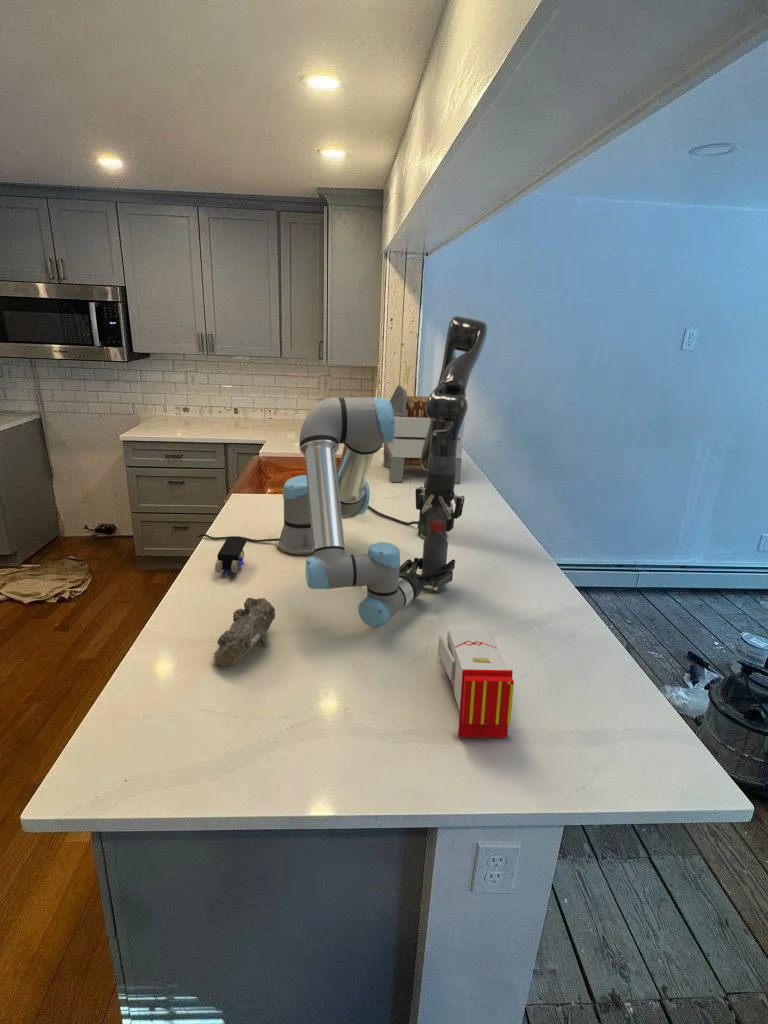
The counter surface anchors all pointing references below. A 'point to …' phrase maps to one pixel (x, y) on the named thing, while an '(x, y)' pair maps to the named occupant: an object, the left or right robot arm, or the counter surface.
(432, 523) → the cap
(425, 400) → the grey boxy piece
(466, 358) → the right robot arm
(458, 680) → the toy
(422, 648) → the counter surface
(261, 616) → the fossil
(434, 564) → the bottle
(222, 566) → the black toy car
